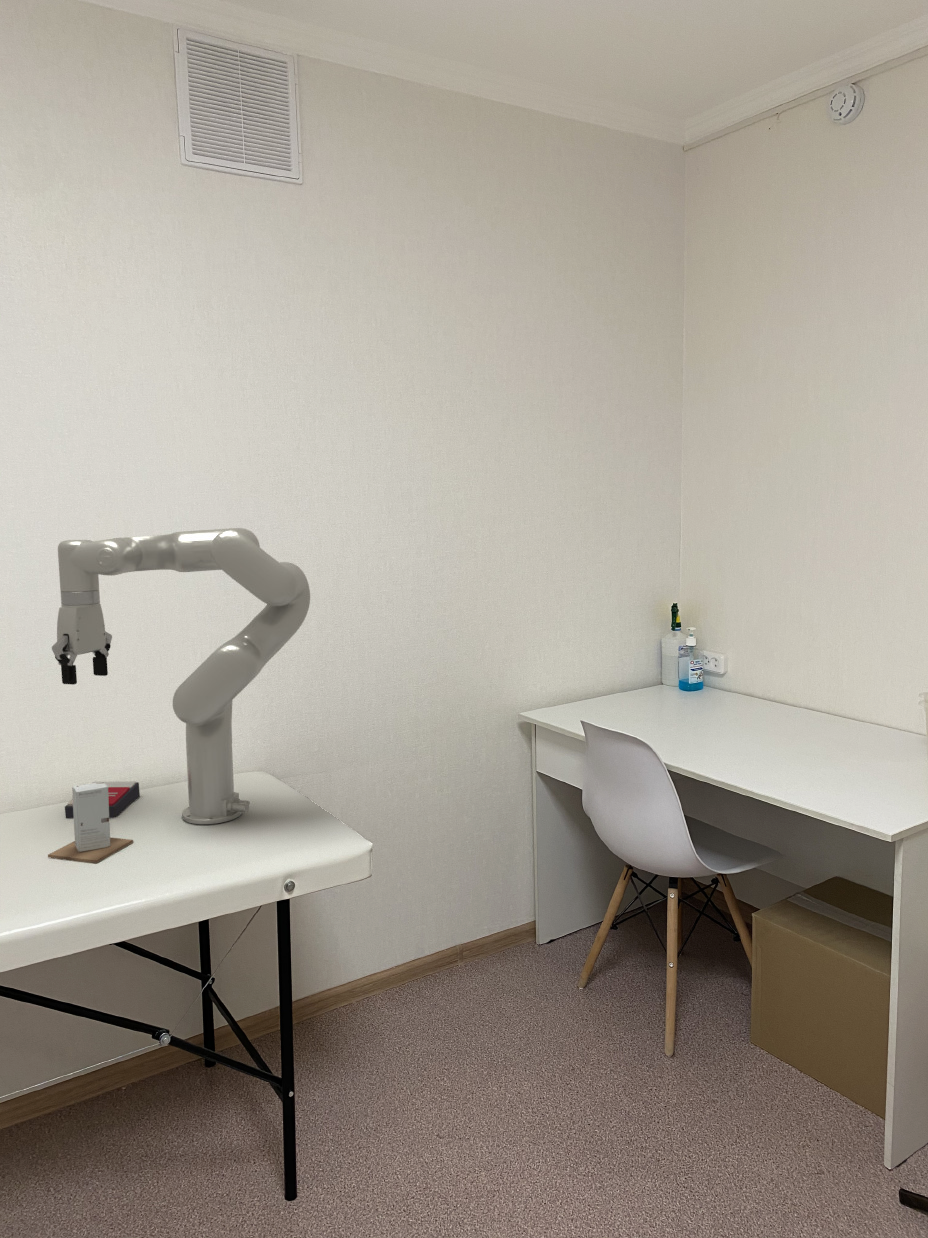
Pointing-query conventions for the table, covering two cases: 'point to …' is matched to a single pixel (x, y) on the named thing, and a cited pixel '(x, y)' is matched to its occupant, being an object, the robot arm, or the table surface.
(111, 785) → the black and red case
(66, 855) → the walnut board
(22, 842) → the table surface
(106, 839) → the skincare box
